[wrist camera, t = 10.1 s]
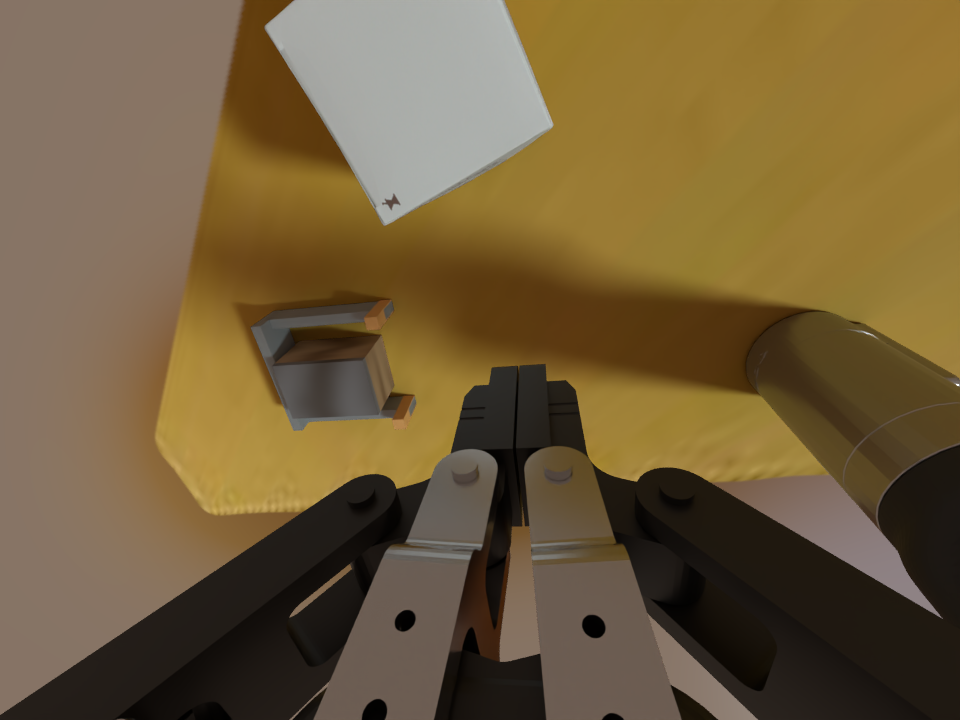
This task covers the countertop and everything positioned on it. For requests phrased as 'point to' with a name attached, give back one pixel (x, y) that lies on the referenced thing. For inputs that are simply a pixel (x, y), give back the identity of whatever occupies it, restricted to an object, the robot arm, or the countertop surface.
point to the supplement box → (414, 90)
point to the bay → (279, 340)
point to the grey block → (335, 377)
